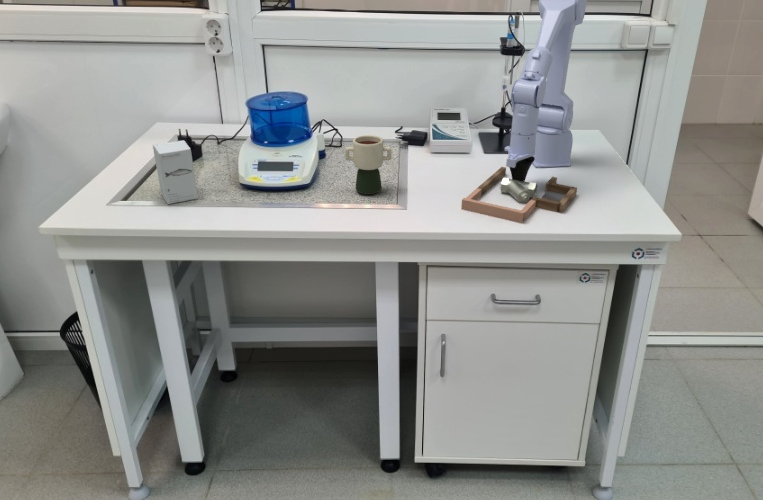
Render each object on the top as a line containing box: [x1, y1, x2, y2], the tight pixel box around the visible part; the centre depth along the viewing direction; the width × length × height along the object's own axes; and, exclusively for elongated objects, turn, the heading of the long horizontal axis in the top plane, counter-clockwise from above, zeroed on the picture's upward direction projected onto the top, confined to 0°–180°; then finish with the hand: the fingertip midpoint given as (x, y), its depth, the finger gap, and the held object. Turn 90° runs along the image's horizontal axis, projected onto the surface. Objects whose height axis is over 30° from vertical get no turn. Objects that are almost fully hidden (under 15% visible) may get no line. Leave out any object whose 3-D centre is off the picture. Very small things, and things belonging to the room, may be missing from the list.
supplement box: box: [152, 140, 199, 205], centre depth 148 cm, size 7×7×13 cm
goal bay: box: [460, 187, 536, 224], centre depth 144 cm, size 9×14×2 cm, turn 59°
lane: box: [477, 166, 578, 214], centre depth 152 cm, size 16×20×2 cm
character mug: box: [344, 134, 392, 195], centre depth 150 cm, size 11×7×13 cm, turn 90°
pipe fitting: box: [499, 177, 538, 204], centre depth 149 cm, size 8×4×7 cm
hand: (517, 186), depth 153 cm, fingers closed
